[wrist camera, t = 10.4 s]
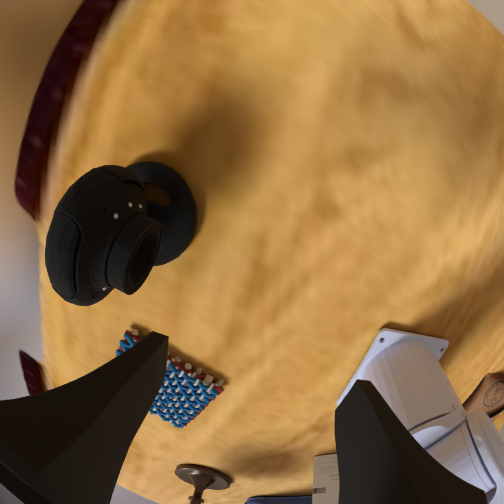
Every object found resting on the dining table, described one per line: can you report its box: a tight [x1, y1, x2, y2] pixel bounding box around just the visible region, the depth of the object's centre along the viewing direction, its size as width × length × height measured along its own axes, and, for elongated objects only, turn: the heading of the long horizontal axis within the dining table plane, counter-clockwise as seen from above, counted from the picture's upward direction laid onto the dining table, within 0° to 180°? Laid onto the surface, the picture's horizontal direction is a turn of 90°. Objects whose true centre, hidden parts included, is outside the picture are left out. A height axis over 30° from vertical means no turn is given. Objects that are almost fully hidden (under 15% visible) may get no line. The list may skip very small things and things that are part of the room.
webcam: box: [45, 162, 196, 306], centre depth 14 cm, size 8×8×10 cm
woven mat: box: [116, 329, 224, 428], centre depth 24 cm, size 10×11×2 cm
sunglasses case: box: [462, 373, 504, 422], centre depth 22 cm, size 18×7×7 cm, turn 162°
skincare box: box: [312, 454, 339, 504], centre depth 21 cm, size 6×4×12 cm
